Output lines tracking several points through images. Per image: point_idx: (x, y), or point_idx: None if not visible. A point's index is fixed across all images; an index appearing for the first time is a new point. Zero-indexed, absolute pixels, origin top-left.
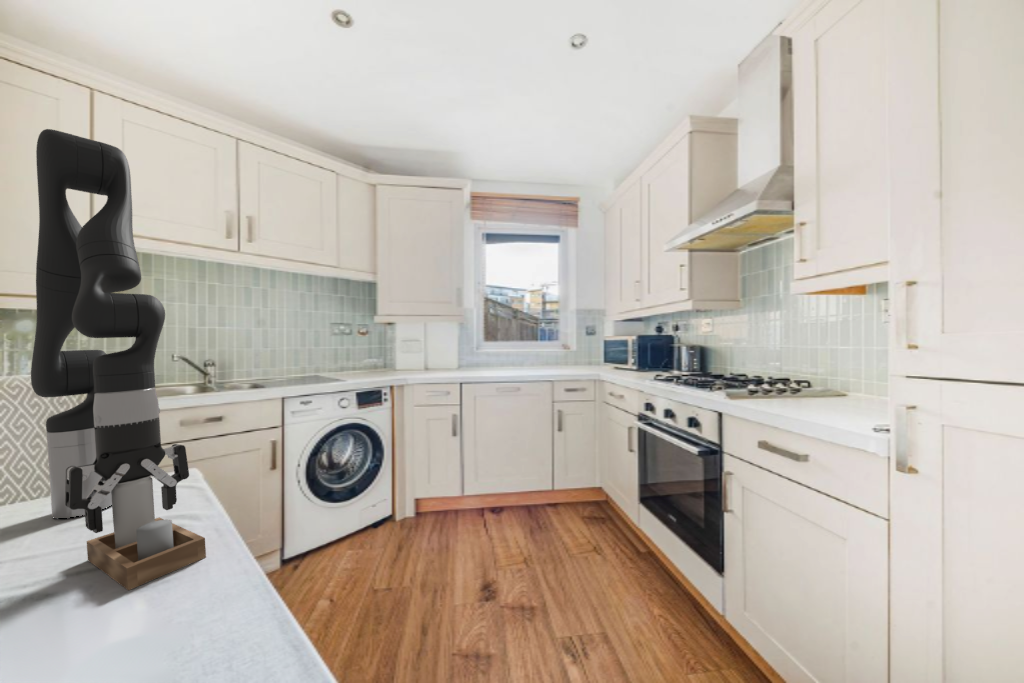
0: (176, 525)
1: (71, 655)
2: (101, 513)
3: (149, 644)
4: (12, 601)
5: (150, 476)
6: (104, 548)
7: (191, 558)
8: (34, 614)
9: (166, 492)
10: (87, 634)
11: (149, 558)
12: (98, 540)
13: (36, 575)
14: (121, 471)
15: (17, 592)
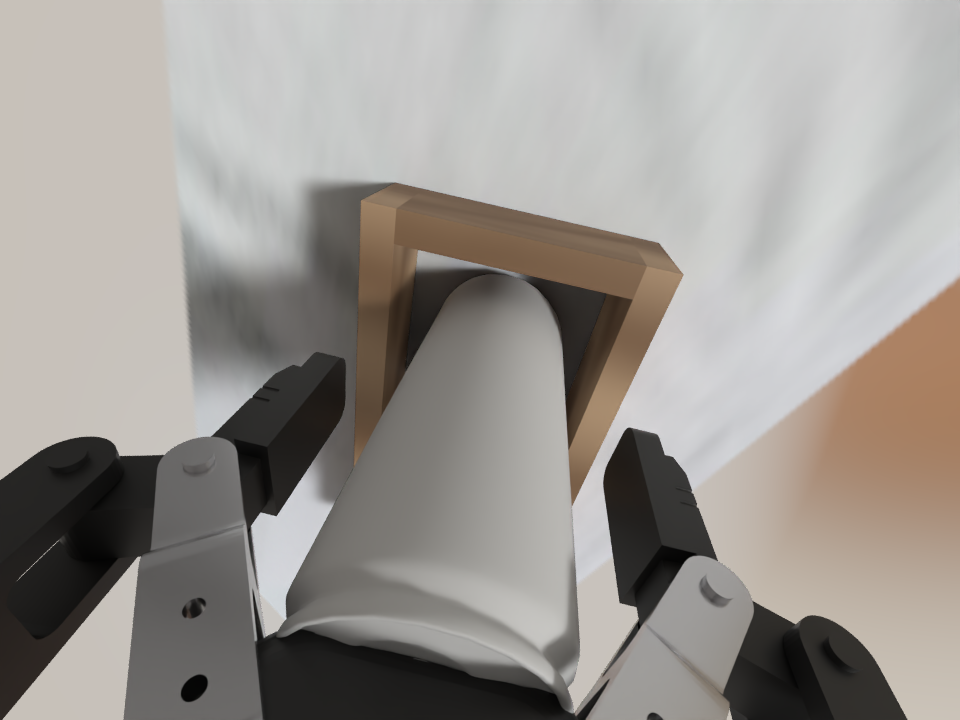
0: (593, 457)
1: (264, 567)
2: (295, 485)
3: None
4: (191, 272)
5: None
6: (369, 384)
7: None
8: (232, 407)
9: (618, 569)
10: (288, 549)
11: None
12: (391, 261)
13: (247, 100)
14: None
15: (198, 212)
